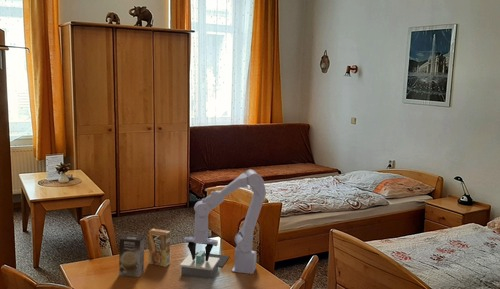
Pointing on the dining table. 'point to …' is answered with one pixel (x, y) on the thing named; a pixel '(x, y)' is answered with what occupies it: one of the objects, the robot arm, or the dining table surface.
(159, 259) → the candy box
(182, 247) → the dining table surface
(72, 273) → the dining table surface
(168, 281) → the dining table surface
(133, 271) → the coffee box
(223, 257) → the mat
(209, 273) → the tub
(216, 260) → the lid
